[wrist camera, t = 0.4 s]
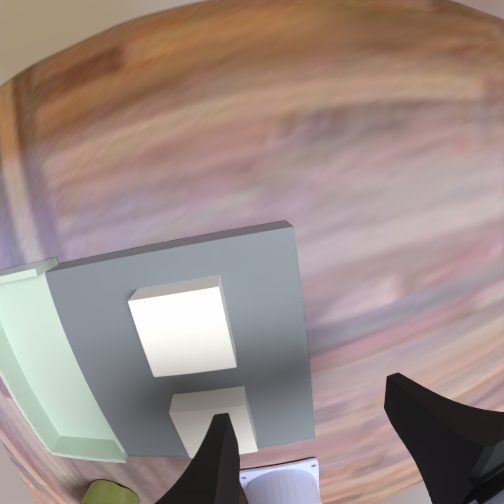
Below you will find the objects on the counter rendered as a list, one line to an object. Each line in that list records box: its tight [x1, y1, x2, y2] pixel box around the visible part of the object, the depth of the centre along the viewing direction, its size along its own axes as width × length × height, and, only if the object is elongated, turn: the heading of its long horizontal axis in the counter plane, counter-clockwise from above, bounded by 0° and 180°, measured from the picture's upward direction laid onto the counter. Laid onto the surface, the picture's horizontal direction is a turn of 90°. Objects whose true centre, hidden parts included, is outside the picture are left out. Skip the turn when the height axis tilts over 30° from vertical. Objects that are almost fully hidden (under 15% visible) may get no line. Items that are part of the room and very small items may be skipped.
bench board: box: [44, 220, 315, 456], centre depth 20 cm, size 17×16×2 cm
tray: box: [0, 257, 128, 463], centre depth 20 cm, size 18×9×3 cm, turn 9°
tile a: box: [169, 386, 258, 458], centre depth 19 cm, size 5×5×2 cm
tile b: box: [128, 275, 237, 377], centre depth 17 cm, size 5×5×2 cm
